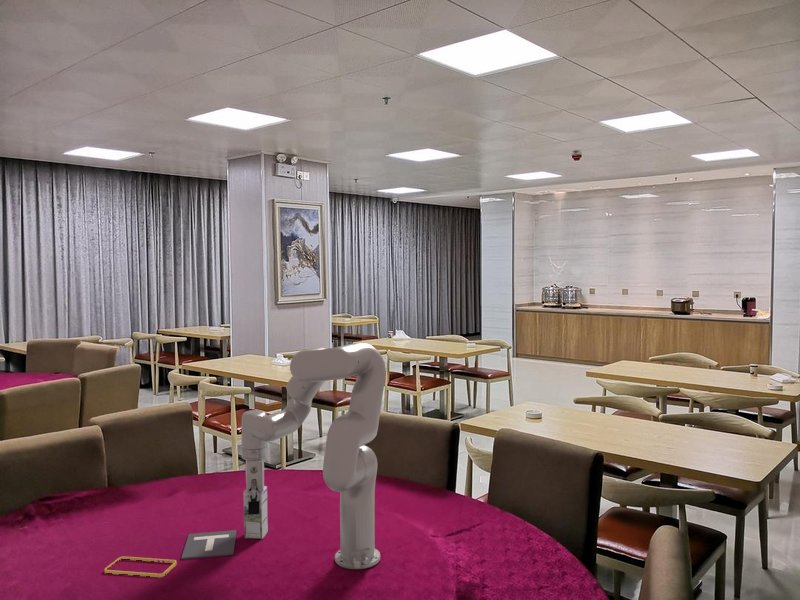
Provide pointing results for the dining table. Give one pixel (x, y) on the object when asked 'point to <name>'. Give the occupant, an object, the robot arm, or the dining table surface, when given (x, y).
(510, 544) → the dining table surface
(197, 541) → the letter mat
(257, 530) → the syrup box
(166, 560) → the phone case
